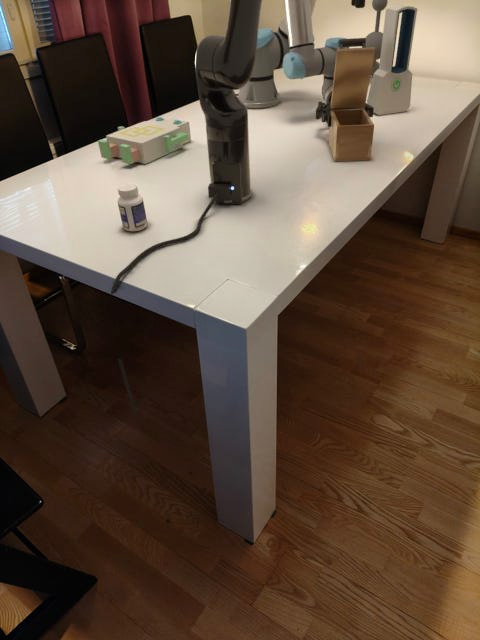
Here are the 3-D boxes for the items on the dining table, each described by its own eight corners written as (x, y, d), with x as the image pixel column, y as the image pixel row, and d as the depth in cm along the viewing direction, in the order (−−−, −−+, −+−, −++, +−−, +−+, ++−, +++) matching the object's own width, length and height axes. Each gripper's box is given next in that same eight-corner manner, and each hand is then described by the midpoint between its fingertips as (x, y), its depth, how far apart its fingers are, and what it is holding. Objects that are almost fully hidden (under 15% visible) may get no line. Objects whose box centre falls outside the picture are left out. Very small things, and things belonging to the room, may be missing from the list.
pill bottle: (149, 220, 107) (142, 181, 102) (146, 231, 103) (138, 191, 98) (125, 221, 107) (116, 182, 102) (121, 232, 103) (112, 193, 98)
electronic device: (375, 115, 160) (388, 8, 142) (365, 110, 166) (376, 6, 148) (409, 111, 163) (426, 4, 144) (398, 105, 168) (413, 2, 150)
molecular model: (328, 81, 202) (333, -6, 184) (375, 74, 207) (385, -11, 188) (355, 93, 184) (363, -1, 166) (406, 86, 189) (420, -7, 170)
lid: (375, 49, 122) (371, 31, 126) (337, 51, 122) (334, 33, 127) (364, 107, 136) (361, 89, 140) (330, 108, 136) (328, 90, 140)
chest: (370, 160, 130) (374, 125, 124) (334, 161, 130) (337, 126, 125) (360, 141, 142) (364, 108, 136) (328, 142, 142) (330, 110, 137)
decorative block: (150, 112, 153) (199, 120, 143) (154, 133, 157) (201, 142, 147) (87, 135, 137) (137, 147, 127) (92, 158, 141) (141, 171, 131)
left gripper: (389, -86, 103) (379, 9, 113) (376, -83, 114) (367, 3, 124) (354, -84, 103) (346, 10, 113) (344, -81, 114) (338, 4, 125)
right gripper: (372, 111, 155) (386, 133, 137) (302, 114, 156) (307, 136, 138) (374, 85, 150) (390, 105, 133) (303, 88, 151) (309, 108, 134)
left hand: (357, 6), depth 119 cm, fingers open, 5 cm apart
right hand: (348, 121), depth 136 cm, fingers closed on chest, 9 cm apart
